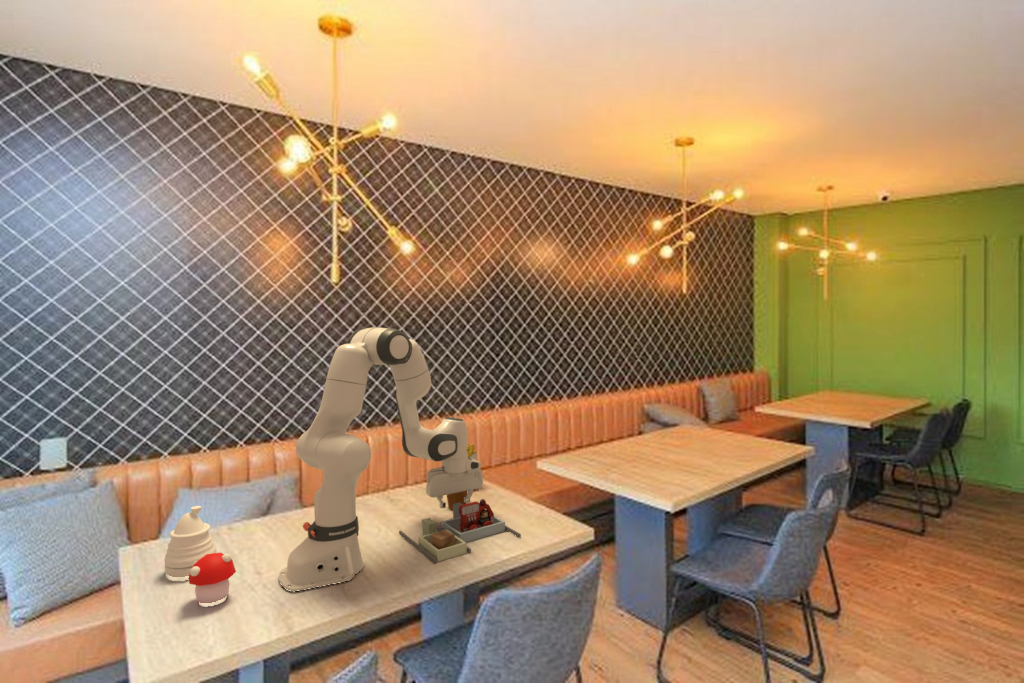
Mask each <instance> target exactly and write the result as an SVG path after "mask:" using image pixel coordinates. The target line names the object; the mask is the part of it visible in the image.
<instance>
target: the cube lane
mask: <svg viewBox="0 0 1024 683" xmlns="http://www.w3.org/2000/svg"><path fill="white" fill-rule="evenodd" d="M421 525H422V526H421V527H422V533H421V534H422V535H421V536H418V545H420V546H421V547H422V548H423V549H424V550H426V551H427V552H428V553H429V554H431V555H432V556H433V557H434V558H436V563H438V562H441V561H444V560H447V559H451V558H454V557H457V556H461V555H465V554H467V553H468V552H467V547H468V545H467V543H468V542H464V541H463V540H462V539H460V538H459V537H457V536H456V535H455V545H453V546H450V547H446V548H443V549H440V550H438V549H437V548H436V547H434V546H433V545H432V544H431V534H434V533H437V532H438V531H437V528H436V525H437V522H436V521H435V520H433V519H432V518H430V517H426V518H424V519H423V518H422V520H421ZM446 531H448V530H447V529H446ZM448 532H450V531H448Z"/></svg>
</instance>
